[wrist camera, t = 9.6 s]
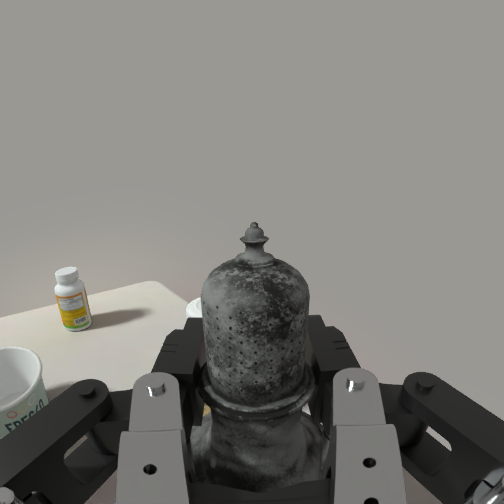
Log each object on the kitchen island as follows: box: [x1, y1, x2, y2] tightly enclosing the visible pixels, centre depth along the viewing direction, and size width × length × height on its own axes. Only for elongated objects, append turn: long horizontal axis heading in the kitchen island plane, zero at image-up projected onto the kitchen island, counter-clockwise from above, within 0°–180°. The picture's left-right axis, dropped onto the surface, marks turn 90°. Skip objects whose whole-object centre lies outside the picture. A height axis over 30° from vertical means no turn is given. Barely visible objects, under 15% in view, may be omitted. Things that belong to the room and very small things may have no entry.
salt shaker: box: [190, 222, 324, 493], centre depth 9 cm, size 6×6×12 cm
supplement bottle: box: [55, 267, 92, 331], centre depth 43 cm, size 5×5×10 cm
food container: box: [0, 346, 49, 439], centre depth 21 cm, size 12×12×6 cm
